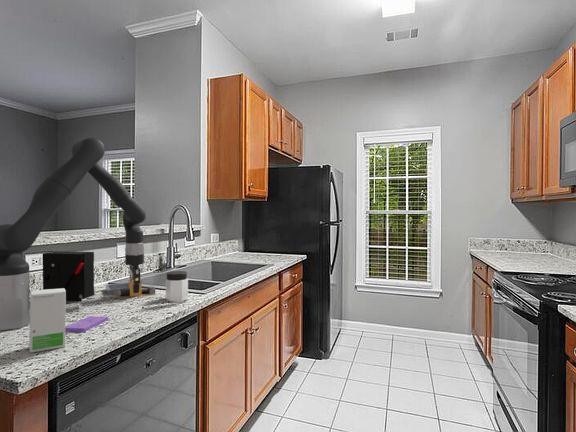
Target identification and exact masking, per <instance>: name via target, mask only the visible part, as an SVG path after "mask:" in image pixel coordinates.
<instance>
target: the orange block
mask: <svg viewBox="0 0 576 432" xmlns="http://www.w3.org/2000/svg"><path fill="white" fill-rule="evenodd" d="M137 280H138V279H136V280H135V281H137ZM127 281H128V282H127V283H128V290H130V296H139V295H142V289H141V288H142V280H141V279H140V281H141V282H140V284H139V293H134V292H133V280H130V279H128V280H127Z"/></svg>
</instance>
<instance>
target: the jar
mask: <svg viewBox="0 0 576 432" xmlns="http://www.w3.org/2000/svg"><path fill="white" fill-rule="evenodd" d="M188 298H189V278H188V272H187V271H185V270H174V271H172V270H171V271H168V272H166V279H165V300H167V304H171V305H172V304H184V303H186V302H188V301H189V299H188Z"/></svg>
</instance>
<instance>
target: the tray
mask: <svg viewBox="0 0 576 432" xmlns="http://www.w3.org/2000/svg"><path fill="white" fill-rule="evenodd" d="M119 289H120V291H121V290H128V282H122V283H113V284H106V285H105V291H106V293H107V295H108V296H109V295H113V294H114V290H119Z"/></svg>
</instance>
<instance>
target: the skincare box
mask: <svg viewBox="0 0 576 432" xmlns="http://www.w3.org/2000/svg"><path fill="white" fill-rule="evenodd" d="M29 294H30V323H29V332H28V333H29V334H28V335H29V339H28V341H29V342H28V343H29V353H32V354H33V353H37V352H42V351H48V350H54V349H60V348H61V349H62V348H65V347H66V332H65V326H66V309H67V308H66V303H67V301H66V291H65V288H61V289H46V290H43V289H38V290H36V289H35V290H30V291H29Z"/></svg>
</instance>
